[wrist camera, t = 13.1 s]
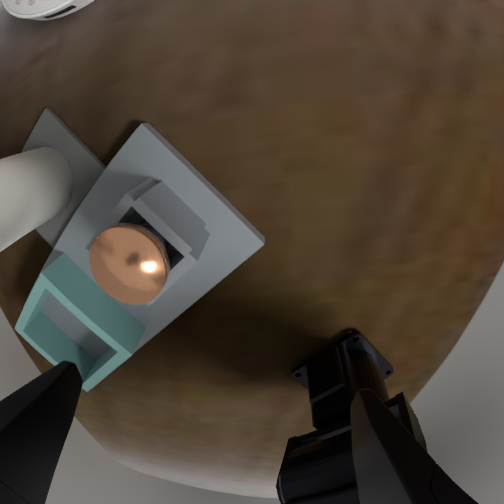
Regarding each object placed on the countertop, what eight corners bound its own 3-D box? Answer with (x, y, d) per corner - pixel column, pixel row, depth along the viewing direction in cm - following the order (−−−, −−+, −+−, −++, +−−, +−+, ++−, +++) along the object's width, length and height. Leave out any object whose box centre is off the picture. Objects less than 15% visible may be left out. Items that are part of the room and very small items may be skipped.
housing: (264, 237, 19) (262, 273, 15) (107, 370, 26) (89, 405, 22) (147, 122, 17) (112, 127, 13) (29, 301, 23) (2, 329, 19)
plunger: (203, 230, 18) (182, 272, 14) (162, 271, 20) (134, 317, 15) (154, 183, 17) (116, 210, 13) (117, 228, 18) (76, 265, 14)
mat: (107, 168, 18) (104, 169, 18) (55, 246, 21) (53, 248, 20) (48, 107, 16) (45, 107, 16) (6, 190, 19) (3, 191, 18)
